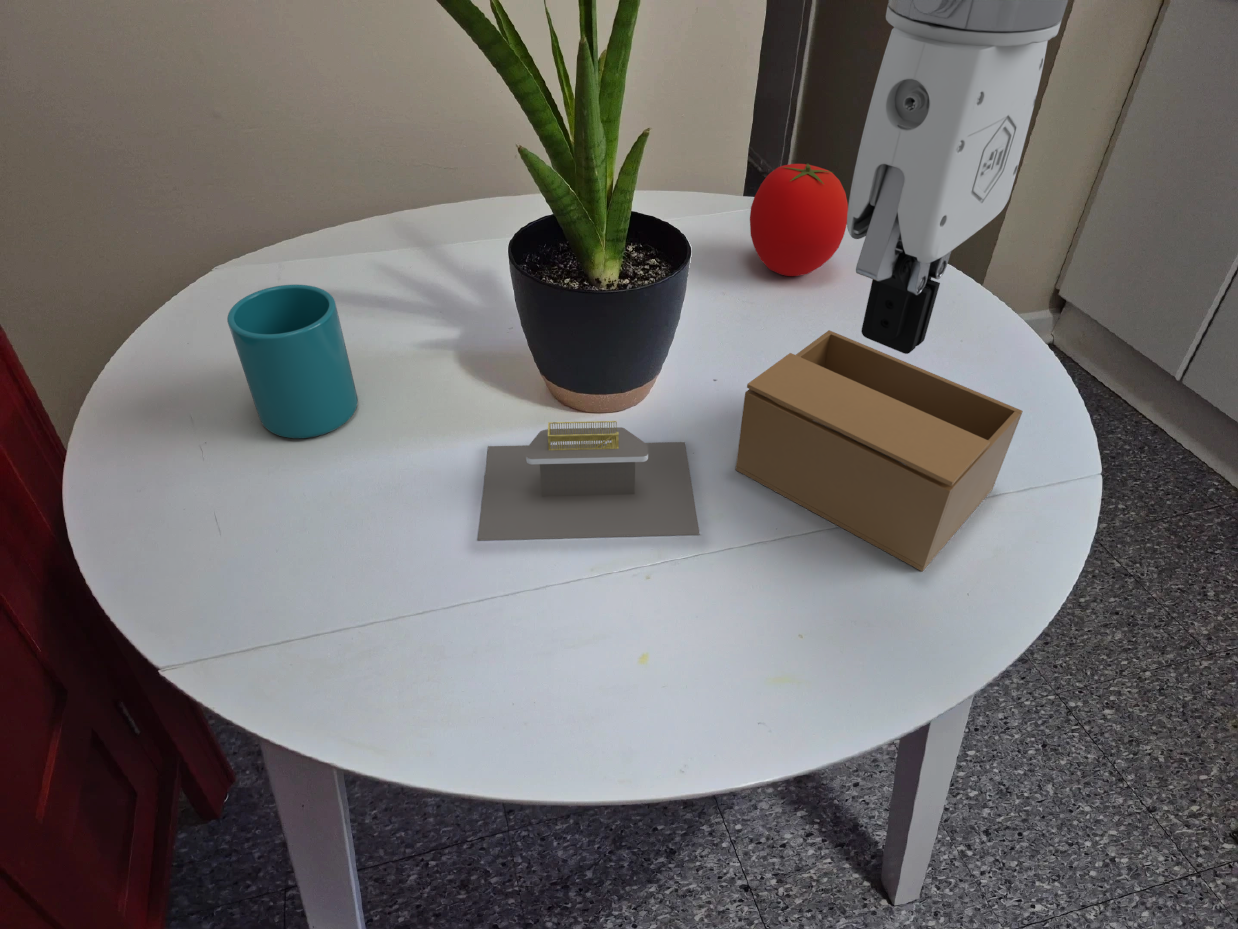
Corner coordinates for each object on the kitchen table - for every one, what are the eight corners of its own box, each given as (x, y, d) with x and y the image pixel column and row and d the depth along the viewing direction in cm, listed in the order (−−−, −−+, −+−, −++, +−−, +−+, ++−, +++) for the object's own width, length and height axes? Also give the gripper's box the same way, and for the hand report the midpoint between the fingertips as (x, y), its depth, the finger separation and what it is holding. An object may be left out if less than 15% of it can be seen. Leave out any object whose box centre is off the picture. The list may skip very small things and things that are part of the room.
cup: (371, 366, 89) (349, 266, 81) (350, 440, 80) (323, 335, 72) (281, 369, 88) (251, 268, 81) (249, 443, 79) (213, 338, 72)
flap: (989, 445, 66) (990, 441, 65) (951, 486, 62) (952, 482, 62) (789, 356, 75) (790, 352, 74) (746, 387, 71) (747, 383, 71)
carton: (992, 489, 75) (1023, 410, 70) (922, 571, 68) (950, 491, 62) (814, 405, 84) (828, 329, 79) (735, 470, 77) (745, 391, 71)
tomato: (731, 252, 108) (742, 150, 100) (812, 243, 110) (829, 142, 102) (765, 297, 100) (779, 190, 91) (851, 286, 102) (873, 180, 93)
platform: (488, 446, 79) (481, 387, 75) (685, 441, 80) (689, 383, 75) (477, 540, 70) (469, 479, 66) (699, 534, 71) (705, 474, 66)
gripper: (987, 38, 32) (885, 425, 44) (1123, -27, 41) (1007, 313, 53) (815, 3, 36) (764, 369, 48) (972, -49, 45) (895, 273, 57)
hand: (891, 339), depth 50 cm, fingers closed
